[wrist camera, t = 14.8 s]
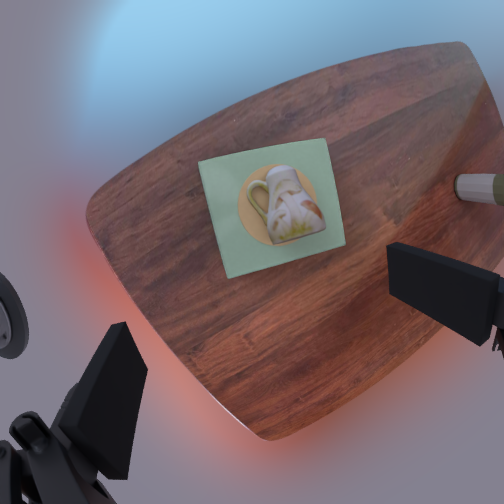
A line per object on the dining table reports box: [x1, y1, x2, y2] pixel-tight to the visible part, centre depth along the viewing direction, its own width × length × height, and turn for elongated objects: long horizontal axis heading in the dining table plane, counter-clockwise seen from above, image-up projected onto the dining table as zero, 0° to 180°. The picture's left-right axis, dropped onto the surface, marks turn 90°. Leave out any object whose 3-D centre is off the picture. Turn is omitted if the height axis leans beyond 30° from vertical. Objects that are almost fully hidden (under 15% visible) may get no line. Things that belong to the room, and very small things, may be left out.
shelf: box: [198, 138, 346, 279], centre depth 40 cm, size 16×18×7 cm
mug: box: [247, 165, 326, 245], centre depth 33 cm, size 8×10×10 cm
